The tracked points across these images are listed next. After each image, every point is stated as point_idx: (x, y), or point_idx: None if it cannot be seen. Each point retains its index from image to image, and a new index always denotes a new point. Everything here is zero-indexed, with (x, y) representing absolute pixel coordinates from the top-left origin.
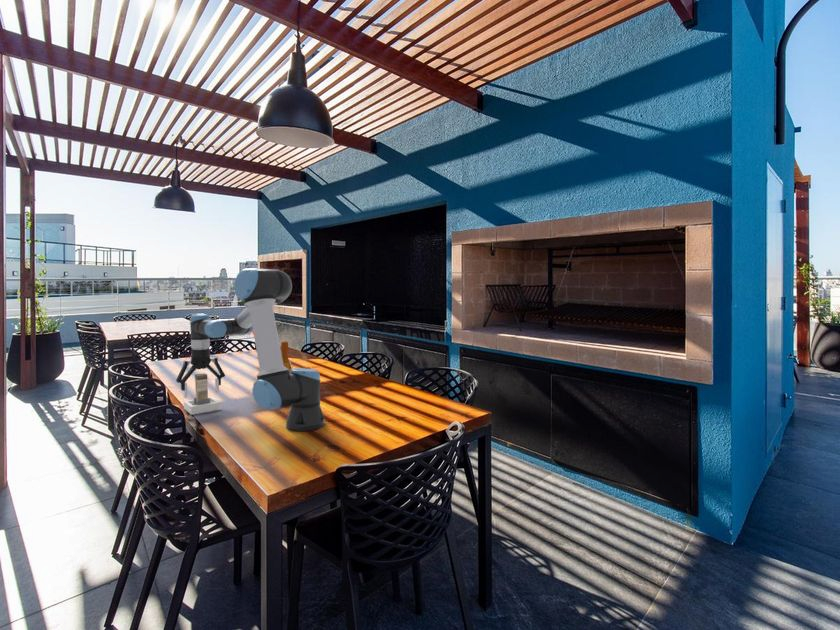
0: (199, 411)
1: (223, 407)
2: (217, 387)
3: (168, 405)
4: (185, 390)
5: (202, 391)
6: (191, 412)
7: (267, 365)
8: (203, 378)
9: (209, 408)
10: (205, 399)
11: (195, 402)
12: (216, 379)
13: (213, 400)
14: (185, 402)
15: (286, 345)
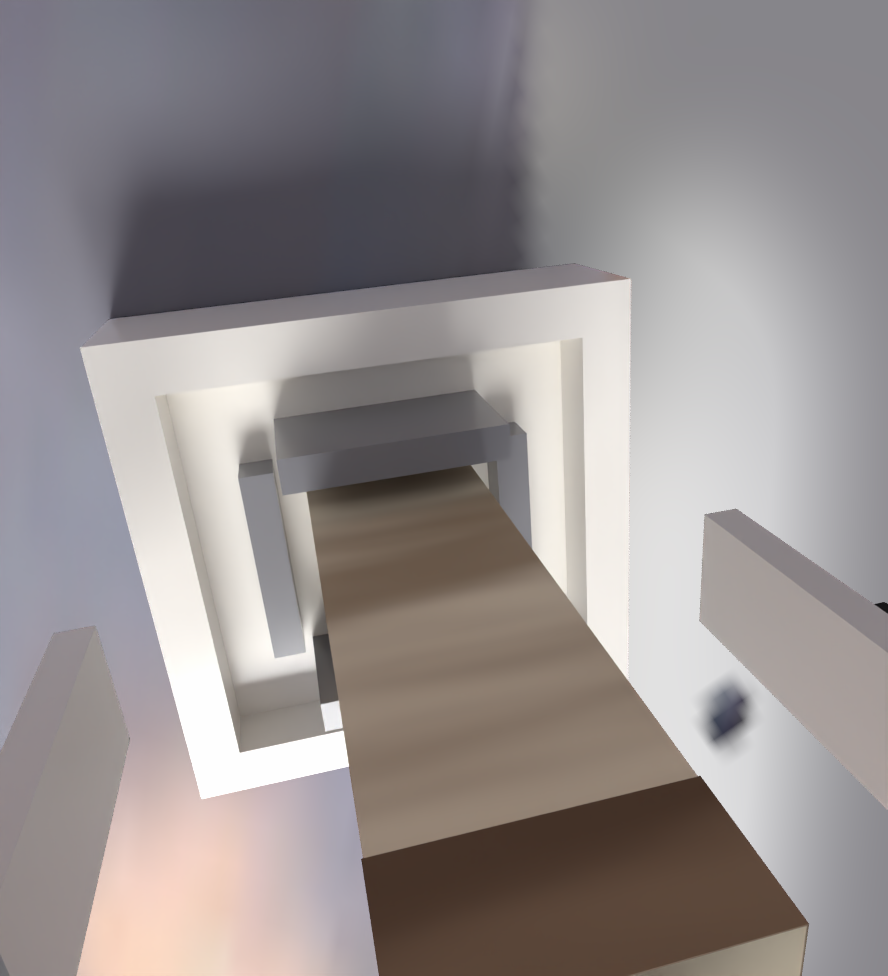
0: (462, 282)
1: (42, 438)
2: (53, 717)
3: None
4: (836, 581)
5: (447, 584)
6: (584, 267)
7: None
8: (517, 854)
9: (299, 303)
10: (365, 469)
11: None
12: (10, 951)
13: (196, 569)
14: (626, 622)
15: None
